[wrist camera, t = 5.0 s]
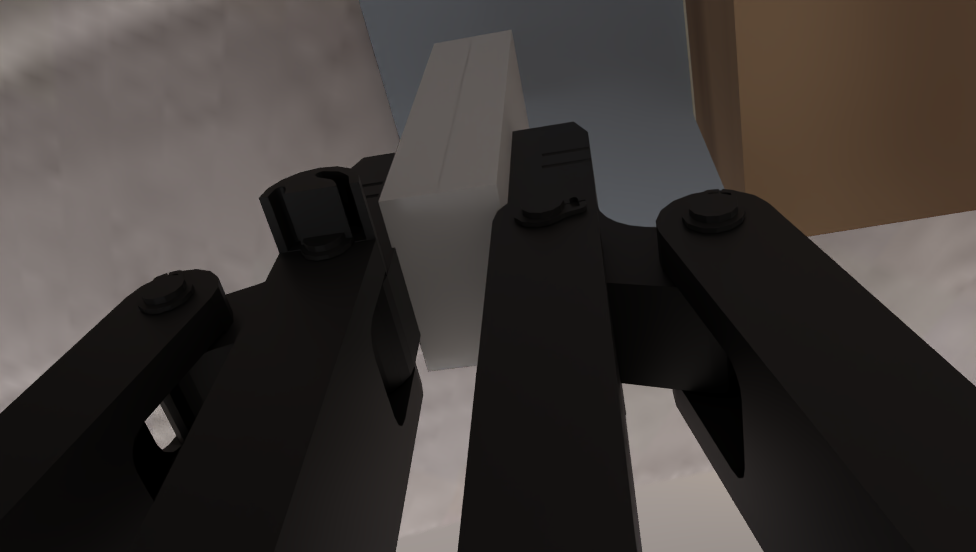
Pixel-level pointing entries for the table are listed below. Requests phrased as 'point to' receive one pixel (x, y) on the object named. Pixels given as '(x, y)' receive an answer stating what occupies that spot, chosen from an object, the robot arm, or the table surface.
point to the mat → (575, 83)
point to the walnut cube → (839, 105)
